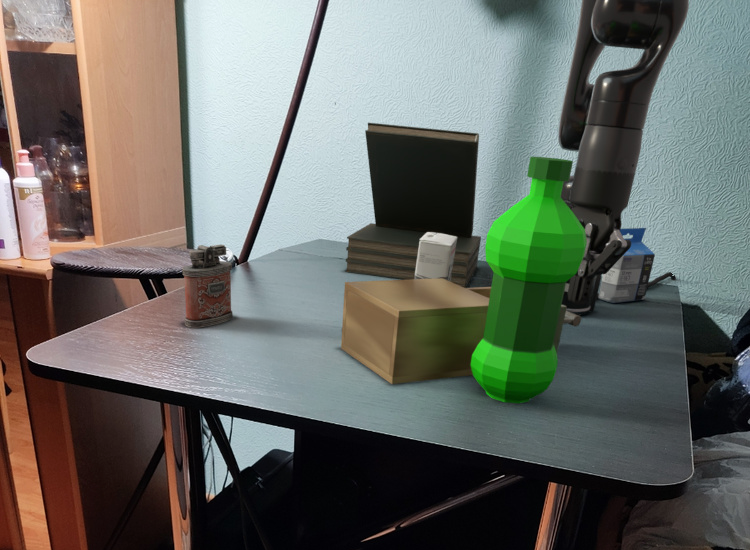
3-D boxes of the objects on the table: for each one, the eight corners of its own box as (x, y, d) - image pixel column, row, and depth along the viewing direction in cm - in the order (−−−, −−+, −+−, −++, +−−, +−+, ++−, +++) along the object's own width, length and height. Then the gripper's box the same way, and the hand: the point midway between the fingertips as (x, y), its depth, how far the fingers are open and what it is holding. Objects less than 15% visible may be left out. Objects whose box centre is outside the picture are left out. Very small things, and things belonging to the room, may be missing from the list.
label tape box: (612, 304, 129) (630, 232, 123) (595, 298, 132) (611, 228, 126) (644, 300, 134) (663, 231, 128) (627, 295, 137) (644, 227, 131)
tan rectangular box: (434, 340, 100) (442, 278, 96) (492, 373, 90) (504, 304, 86) (340, 348, 94) (344, 281, 90) (391, 384, 84) (399, 310, 80)
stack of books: (476, 268, 148) (496, 132, 136) (465, 287, 131) (487, 134, 119) (368, 254, 152) (378, 120, 139) (344, 271, 135) (353, 121, 123)
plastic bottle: (571, 403, 83) (625, 166, 71) (506, 417, 78) (553, 163, 65) (510, 375, 90) (550, 155, 78) (446, 387, 84) (478, 151, 72)
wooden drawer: (530, 328, 107) (539, 281, 104) (588, 354, 98) (600, 304, 94) (421, 337, 98) (426, 286, 95) (473, 366, 89) (481, 311, 86)
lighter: (197, 329, 96) (194, 251, 91) (179, 323, 98) (175, 247, 93) (238, 318, 102) (237, 245, 97) (220, 313, 104) (218, 240, 99)
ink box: (441, 326, 107) (451, 243, 101) (408, 322, 108) (416, 239, 102) (447, 312, 114) (458, 234, 109) (416, 308, 115) (425, 230, 109)
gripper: (666, 174, 89) (630, 313, 97) (591, 162, 99) (565, 290, 107) (622, 171, 86) (589, 316, 94) (549, 160, 95) (525, 292, 104)
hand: (576, 302), depth 101 cm, fingers closed
